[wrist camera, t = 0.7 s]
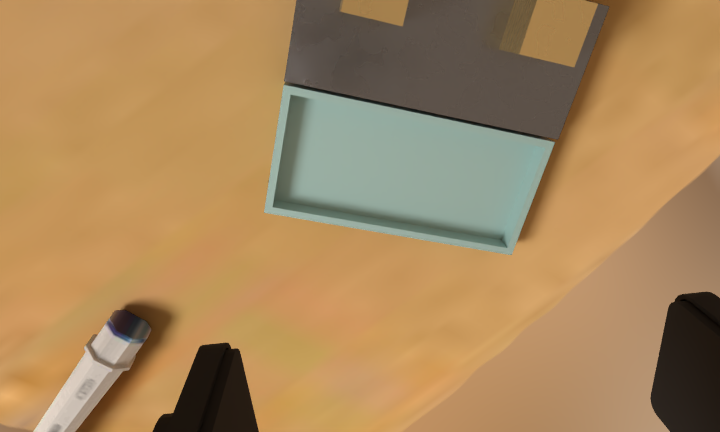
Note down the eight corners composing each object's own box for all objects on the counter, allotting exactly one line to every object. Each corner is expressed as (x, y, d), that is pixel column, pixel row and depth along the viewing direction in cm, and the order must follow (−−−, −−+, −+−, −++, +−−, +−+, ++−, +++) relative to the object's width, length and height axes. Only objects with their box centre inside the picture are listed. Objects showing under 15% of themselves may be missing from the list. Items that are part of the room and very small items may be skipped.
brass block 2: (498, 49, 35) (519, 54, 32) (517, -10, 34) (540, -12, 30) (548, 61, 36) (574, 67, 32) (569, 4, 34) (598, 3, 31)
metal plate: (286, 76, 37) (284, 81, 35) (309, -68, 34) (307, -73, 31) (544, 132, 41) (558, 139, 38) (591, 6, 37) (609, 6, 34)
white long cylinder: (150, 350, 42) (10, 542, 46) (168, 314, 49) (43, 485, 52) (95, 322, 41) (-46, 522, 45) (120, 288, 47) (-6, 466, 51)
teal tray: (267, 202, 41) (264, 212, 39) (286, 80, 37) (283, 84, 35) (503, 244, 45) (511, 255, 43) (543, 135, 41) (555, 142, 39)
